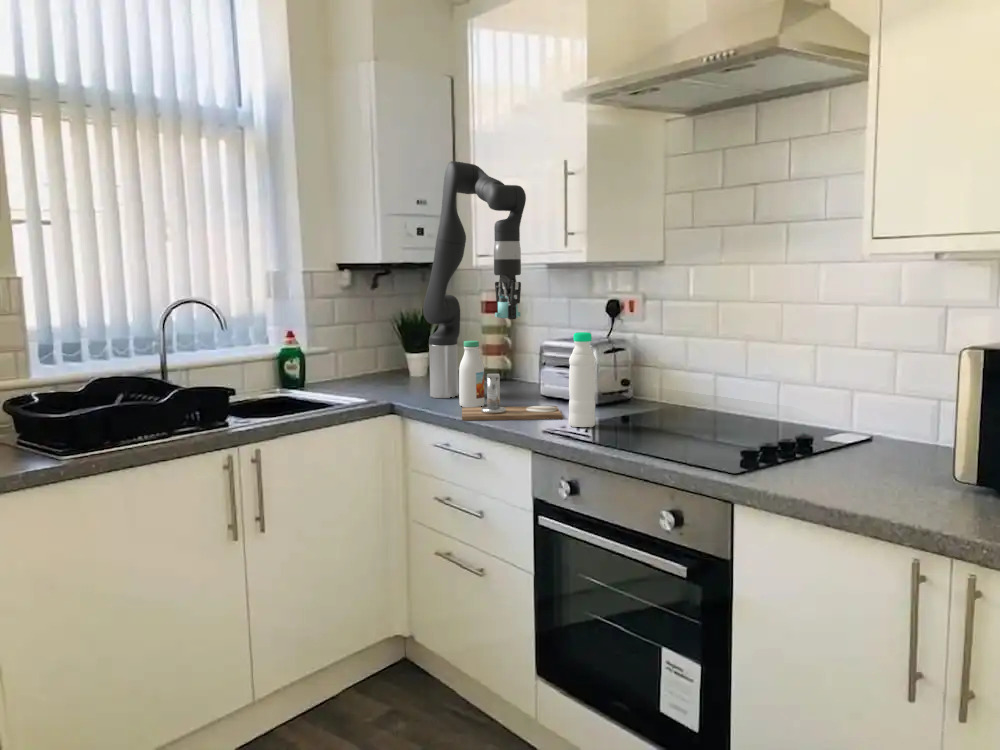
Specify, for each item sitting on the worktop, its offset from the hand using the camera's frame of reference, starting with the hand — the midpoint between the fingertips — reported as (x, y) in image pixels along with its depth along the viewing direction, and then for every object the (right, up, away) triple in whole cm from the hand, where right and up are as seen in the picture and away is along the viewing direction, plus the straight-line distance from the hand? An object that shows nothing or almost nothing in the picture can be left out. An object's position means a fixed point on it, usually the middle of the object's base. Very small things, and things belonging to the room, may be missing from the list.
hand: (508, 318), depth 223 cm
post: (-4, -26, +3) cm, 27 cm away
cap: (0, 0, 0) cm, 0 cm away
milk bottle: (-11, -26, +20) cm, 34 cm away
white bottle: (+20, -30, -12) cm, 37 cm away
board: (+1, -27, +4) cm, 28 cm away
